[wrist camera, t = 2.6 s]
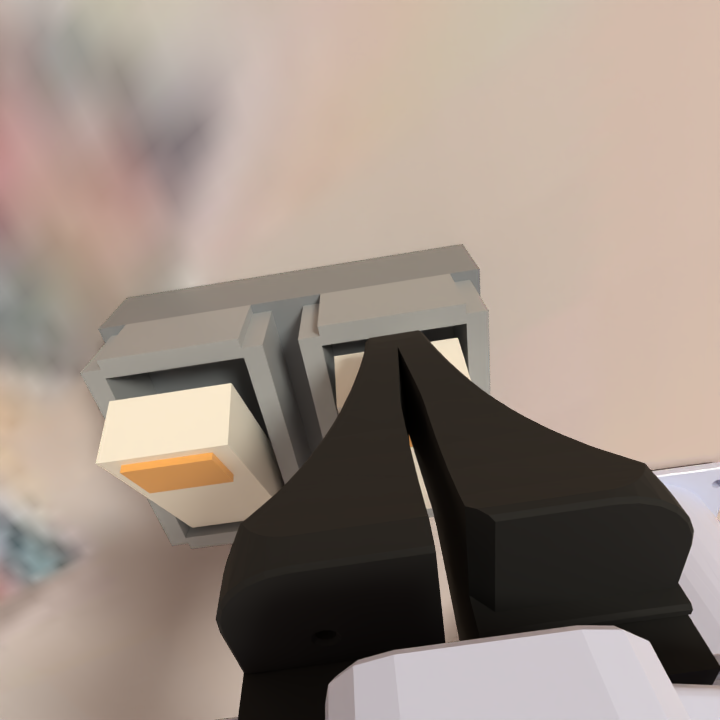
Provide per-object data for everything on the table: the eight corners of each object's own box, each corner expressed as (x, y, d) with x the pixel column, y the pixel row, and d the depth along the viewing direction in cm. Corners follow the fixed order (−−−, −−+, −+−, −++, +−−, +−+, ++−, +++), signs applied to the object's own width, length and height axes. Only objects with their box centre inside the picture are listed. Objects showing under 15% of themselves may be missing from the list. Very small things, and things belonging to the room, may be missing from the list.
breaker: (286, 466, 18) (287, 520, 17) (196, 478, 18) (191, 533, 17) (231, 383, 13) (227, 452, 12) (109, 401, 13) (94, 470, 12)
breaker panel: (471, 424, 21) (501, 507, 17) (198, 463, 22) (167, 552, 18) (462, 244, 17) (499, 298, 13) (126, 298, 18) (65, 365, 14)
